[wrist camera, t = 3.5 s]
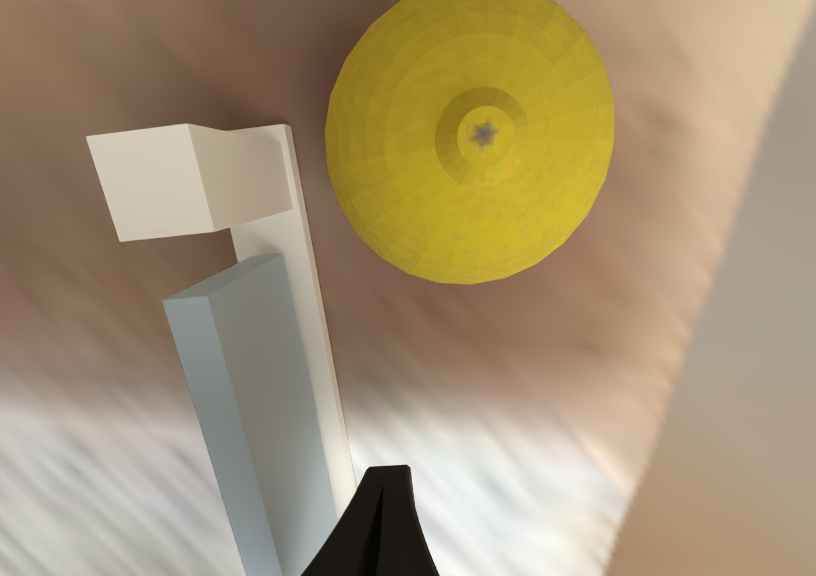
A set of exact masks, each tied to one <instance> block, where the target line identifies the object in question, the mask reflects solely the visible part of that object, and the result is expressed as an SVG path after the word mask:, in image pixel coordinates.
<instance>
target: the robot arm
mask: <svg viewBox="0 0 816 576" xmlns="http://www.w3.org/2000/svg"><path fill="white" fill-rule="evenodd" d="M301 576H439V573H438V571H437V569H436V566H435V564H434V562H433V559H432V557H431V554H430V551H429V549H428V546H427V543H426V541H425V538H424V535H423V532H422V529H421V526H420V523H419V519H418V516H417V512H416V509H415V501H414V493H413V485H412V477H411V469H410V467H409V466H408V465H393V466H375V467H369V468H368V469H367V470H366V472H365V474H364V476H363V478H362V480H361V482H360V484H359V486H358V488H357V490H356V492H355V494H354V496H353V497H352V499H351V501H350V503H349V504H348V506H347V508H346V510H345V511H344V513H343V515H342V516H341V518H340V520H339V521H338V523H337V525H336V526H335V528H334V529H333V531H332V532H331V534H330V535H329V537H328V538H327V540H326V541H325V543H324V544H323V546H322V547H321V549H320V550H319V552H318V553H317V554H316V556H315V557H314V558H313V560H312V561H311V563H310V564H309V565H308V567H307V568H306V569H305V570H304V572H303V573H302V574H301Z"/></svg>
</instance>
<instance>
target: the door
mask: <svg viewBox="0 0 816 576" xmlns="http://www.w3.org/2000/svg"><path fill="white" fill-rule="evenodd" d="M162 302H163V306H164V309H165V312H166V315H167V319H168V322H169V325H170V328H171V332H172V335H173V338H174V341H175V345H176V348H177V351H178V354H179V358H180V361H181V364H182V368H183V371H184V374H185V377H186V381H187V384H188V387H189V390H190V394H191V397H192V400H193V403H194V407H195V410H196V413H197V416H198V420H199V423H200V426H201V429H202V433H203V436H204V439H205V443H206V446H207V449H208V452H209V456H210V459H211V462H212V465H213V469H214V472H215V475H216V478H217V482H218V485H219V488H220V491H221V495H222V498H223V501H224V505H225V508H226V511H227V514H228V518H229V521H230V524H231V527H232V531H233V534H234V537H235V540H236V544H237V547H238V550H239V553H240V557H241V560H242V563H243V567H244V570H245V573H246V576H301V574H302V573H303V572H304V570H305V569H306V568H307V567H308V565H309V564H310V563H311V561H312V560H313V558H314V557H315V556H316V554H317V553H318V552H319V550H320V549H321V547H322V546H323V544H324V543H325V541H326V540H327V538H328V537H329V535H330V534H331V532H332V531H333V529H334V528H335V526H336V525H337V522H338V519H337V514H336V509H335V504H334V499H333V495H332V490H331V485H330V480H329V475H328V470H327V465H326V460H325V455H324V450H323V446H322V441H321V436H320V431H319V426H318V421H317V416H316V411H315V406H314V402H313V397H312V392H311V387H310V382H309V377H308V372H307V367H306V362H305V357H304V353H303V348H302V343H301V338H300V333H299V328H298V323H297V318H296V313H295V308H294V304H293V299H292V294H291V289H290V284H289V279H288V274H287V269H286V264H285V260H284V255H283V253H275V254H265V255H255V256H251V257H249V258H247V259H245V260H243V261H241V262H239V263H237V264H235V265H233V266H231V267H229V268H227V269H225V270H223V271H221V272H219V273H217V274H215V275H213V276H211V277H209V278H207V279H205V280H202V281H200V282H198V283H196V284H194V285H192V286H190V287H188V288H186V289H184V290H182V291H180V292H178V293H176V294H174V295H172V296H170V297H168V298H166V299H164V300H162Z"/></svg>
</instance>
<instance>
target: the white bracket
mask: <svg viewBox="0 0 816 576" xmlns="http://www.w3.org/2000/svg"><path fill="white" fill-rule="evenodd" d="M86 139H87V142H88V145H89V148H90V152H91V155H92V158H93V161H94V164H95V167H96V170H97V173H98V176H99V179H100V182H101V185H102V188H103V192H104V195H105V198H106V201H107V204H108V207H109V210H110V213H111V216H112V219H113V222H114V225H115V229H116V232H117V235H118V238H119V241H120V242H123V241H133V240H142V239H152V238H161V237H170V236H180V235H189V234H199V233H208V232H216V231H219V230H223V229H226V228H230V231H231V235H232V239H233V244H234V248H235V252H236V256H237V260H238V263H239V262H241V261H243V260H245V259H247V258H249V257H251V256H255V255H265V254H275V253H283V255H284V260H285V264H286V269H287V274H288V279H289V284H290V289H291V294H292V299H293V304H294V308H295V313H296V318H297V323H298V328H299V333H300V338H301V343H302V348H303V353H304V357H305V362H306V367H307V372H308V377H309V382H310V387H311V392H312V397H313V402H314V406H315V411H316V416H317V421H318V426H319V431H320V436H321V441H322V446H323V450H324V455H325V460H326V465H327V470H328V475H329V480H330V485H331V490H332V495H333V499H334V504H335V509H336V514H337V519H338V521H339V520H340V518H341V516H342V515H343V513H344V511H345V510H346V508H347V506H348V504H349V503H350V501H351V499H352V497H353V496H354V494H355V492H356V484H355V478H354V473H353V467H352V462H351V456H350V451H349V445H348V440H347V434H346V429H345V423H344V418H343V412H342V407H341V401H340V396H339V390H338V385H337V379H336V374H335V368H334V363H333V357H332V352H331V346H330V341H329V335H328V330H327V324H326V318H325V313H324V307H323V302H322V296H321V291H320V285H319V280H318V274H317V269H316V263H315V258H314V252H313V247H312V241H311V236H310V230H309V225H308V219H307V214H306V208H305V203H304V197H303V192H302V186H301V181H300V175H299V170H298V164H297V159H296V153H295V147H294V142H293V136H292V131H291V126H289V125H286V124H279V125H271V126H263V127H255V128H247V129H239V130H231V131H222V130H217V129H212V128H207V127H203V126H198V125H193V124H188V123H187V124H179V125H171V126H163V127H156V128H148V129H140V130H132V131H124V132H116V133H109V134H101V135H93V136H86ZM337 523H338V522H337Z"/></svg>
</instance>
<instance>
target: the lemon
mask: <svg viewBox="0 0 816 576" xmlns="http://www.w3.org/2000/svg"><path fill="white" fill-rule="evenodd" d="M325 145H326V157H327V170H328V174H329V177H330V180H331V183H332V186H333V189H334V193H335V196H336V199H337V202H338V205H339V206H340V208H341V210H342V211H343V213H344V215H345V216H346V218H347V219H348V221H349V223H350V224H351V226H352V228H353V229H354V231H355V232H356V234H357V235H358V236H359V237H360V238H361V239H362V240H363V241H364V242H365V243H366V244H367V245H368V246H369V247H370V248H371V249H372V250H373V251H374V252H375V253H376V254H377V255H378V256H380V257H381V258H383V259H384V260H386V261H388V262H389V263H391V264H393V265H394V266H396V267H398V268H399V269H401V270H403V271H404V272H406V273H408V274H411V275H414V276H418V277H421V278H424V279H428V280H431V281H434V282H438V283H454V284H475V283H481V282H486V281H491V280H497V279H502V278H506V277H508V276H510V275H513V274H515V273H517V272H519V271H522V270H524V269H526V268H528V267H530V266H533V265H535V264H537V263H538V262H539V261H541V260H542V259H543V258H544V257H546V256H547V255H548V254H550V253H551V252H552V251H554V250H555V249H556V248H558V247H559V246H560V245H561V244H563V243H564V242H565V241H566V240H567V238H568V237H569V236H570V235H571V234H572V232H573V231H574V230H575V229H576V228H577V226H578V225H579V224H580V223H581V222H582V220H583V219H584V218H585V217H586V216H587V214H588V213H589V211H590V209H591V207H592V205H593V203H594V201H595V199H596V197H597V195H598V193H599V191H600V189H601V187H602V185H603V183H604V181H605V178H606V174H607V170H608V166H609V162H610V157H611V153H612V149H613V145H614V100H613V96H612V92H611V88H610V84H609V80H608V76H607V72H606V68H605V64H604V63H603V61H602V59H601V57H600V56H599V54H598V52H597V50H596V49H595V47H594V45H593V43H592V42H591V40H590V38H589V36H588V35H587V33H586V31H585V30H584V29H583V28H582V27H581V26H580V25H579V24H578V23H577V22H576V21H575V20H574V19H573V18H572V17H571V16H570V15H569V14H568V13H567V12H566V11H565V10H564V9H563V8H562V7H561V6H560V5H559V4H558V3H556V2H554V1H552V0H400V1H399V2H398V3H397V4H396V5H394V6H393V7H392V8H391V9H389V10H388V11H387V12H386V13H384V14H383V15H382V16H381V17H380V18H378V19H377V20H376V21H375V22H373V23H372V24H371V25H370V27H369V28H368V29H367V31H366V32H365V33H364V35H363V36H362V37H361V39H360V40H359V41H358V43H357V44H356V45H355V47H354V48H353V50H352V51H351V52H350V54H349V55H348V56H347V58H346V59H345V62H344V64H343V66H342V69H341V71H340V74H339V76H338V78H337V81H336V83H335V86H334V88H333V90H332V93H331V95H330V101H329V108H328V114H327V121H326V128H325Z"/></svg>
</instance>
